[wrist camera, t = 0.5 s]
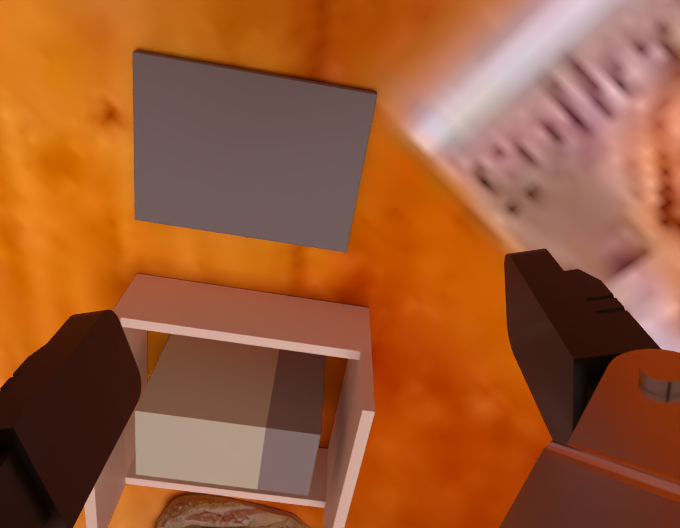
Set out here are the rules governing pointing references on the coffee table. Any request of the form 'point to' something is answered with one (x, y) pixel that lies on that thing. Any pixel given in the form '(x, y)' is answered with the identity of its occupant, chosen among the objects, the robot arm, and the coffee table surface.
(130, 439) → the carton
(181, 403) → the box
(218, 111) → the mat
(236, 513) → the ceramic model
